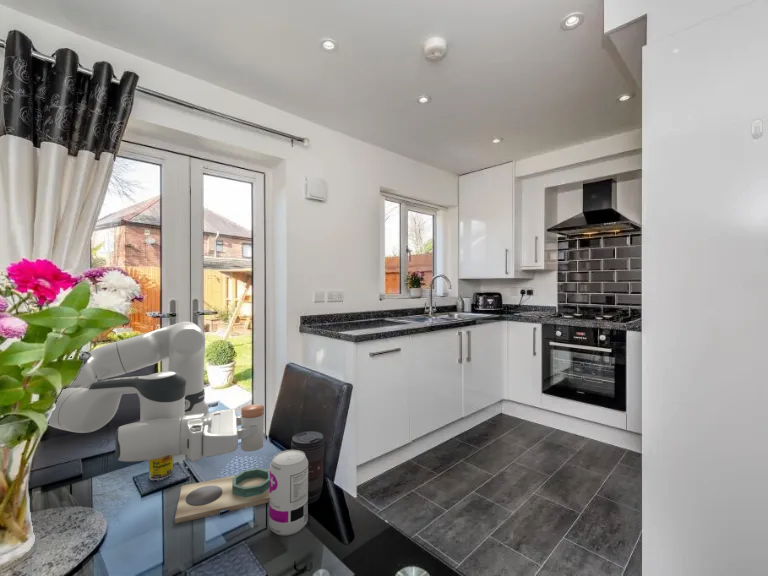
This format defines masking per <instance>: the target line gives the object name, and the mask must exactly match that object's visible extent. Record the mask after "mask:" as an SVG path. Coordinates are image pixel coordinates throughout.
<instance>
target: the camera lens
mask: <svg viewBox="0 0 768 576" xmlns="http://www.w3.org/2000/svg"><path fill="white" fill-rule="evenodd" d="M291 438H292V439H291V444H290V445H291V446H290V448H291V449H290V450H299V451H302V452H304V453H305V456H306V458H307V460H308V504H312V503H315V502H316V501H318V500H320V497H321V494H322V490H323V483H324V456H325V439H324V434H322V433H321V432H319V431H311V430H309V431H302V432H299V433H296V434H294V435H293V436H292V437H291Z"/></svg>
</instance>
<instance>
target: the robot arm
mask: <svg viewBox="0 0 768 576" xmlns="http://www.w3.org/2000/svg"><path fill="white" fill-rule="evenodd" d="M205 349H206V336H205V333H204V331H203V330H202V329H201V327H199V326H198V324H196V323H194V322H192V321H180V322H177V323H174V324H171V325H168V326H165V327H164V326H163V327H162V328H158V329H156V330H151V331H149V332H146V333H143V334H140V335H136V336H132V337H128V338H123V339H122V340H117V341H115V342H114V341H113V342H110V343H107V344H104V345H102V346H99V347H96V348H95V349H92V350H90V351H83V350H81V353H80V355H79V359H83V360H84V365H83V367H82V368H81V371H80V373H79V375H78V377H77V379H76V380H75V381H74V382H73V384H72V385H71V386H70V387H68V388H66V389H63V390H62V392H61V394H60V396H59V397H58V399H57V402H56V409H55V411H54V412H53V414H52V415H51V417H50V420H49V424H48V426H50V427H51V428H52V427H53V428H54V429H58V430H62V431H66V432H71V433H76V434H77V433H80V434H83V433H84V434H85V433H92V432H95V431H97V430H99V429H101V428H103V427H104V426H106V425H107V424H108V423H109V422H110V421H111V420H112V419H113V418H114V417H115V415H116V413H117V411H118V410H119V405H120V402H121V398H122V396H123V395H126V394H127V395H128V394H137V396H138V398H139V408H140V411H139V413H140V415H139V416H140V419H139V421H136V422H132V423H127V424H124V425H121V426H118V427H117V430H116V432H115V444H114V445H115V447H114V448H115V457H116V459H117V461H119V462H124V463H125V462H142V461H143V462H144V461H149V460H153V459H159V458H162V457H164V456H167V455H173V456H182V455H184V456H185V455H186V456H187V457H188V459H190V461H192V462H197V461H200V460H202V459H203V457H204V458H209V457H210V458H212V457H216V456H221V455H222V456H223V455H226V454H230V453H233V452H235V451H236V450H238V448H239V440H241V439H243V438H245V437H248V436H250V435H255V434H257V433H258V428H257V426H256V425H254V426H250V427H248V428H244V429H242V428H241V427H239V428H238V426H241V415H237V409H236V408H227V409H221V410H214V411H211V412H209V409H210V407H209V404H208V403H206V401H205V396H206V395H205V393H206V392H205V389H204V364H205V351H206V350H205ZM70 358H72V356H71V357H70ZM167 359H168V370H166V371H160V372H156V373H149V374H148V373H147V374H137V375H136V374H135V375H125V374H129V373H131V372H135V371H137V370H141V369H143V368H147V367H150V366H153V365H155V364H158V363H160V362H162V361H165V360H167ZM123 375H124V376H123Z"/></svg>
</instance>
